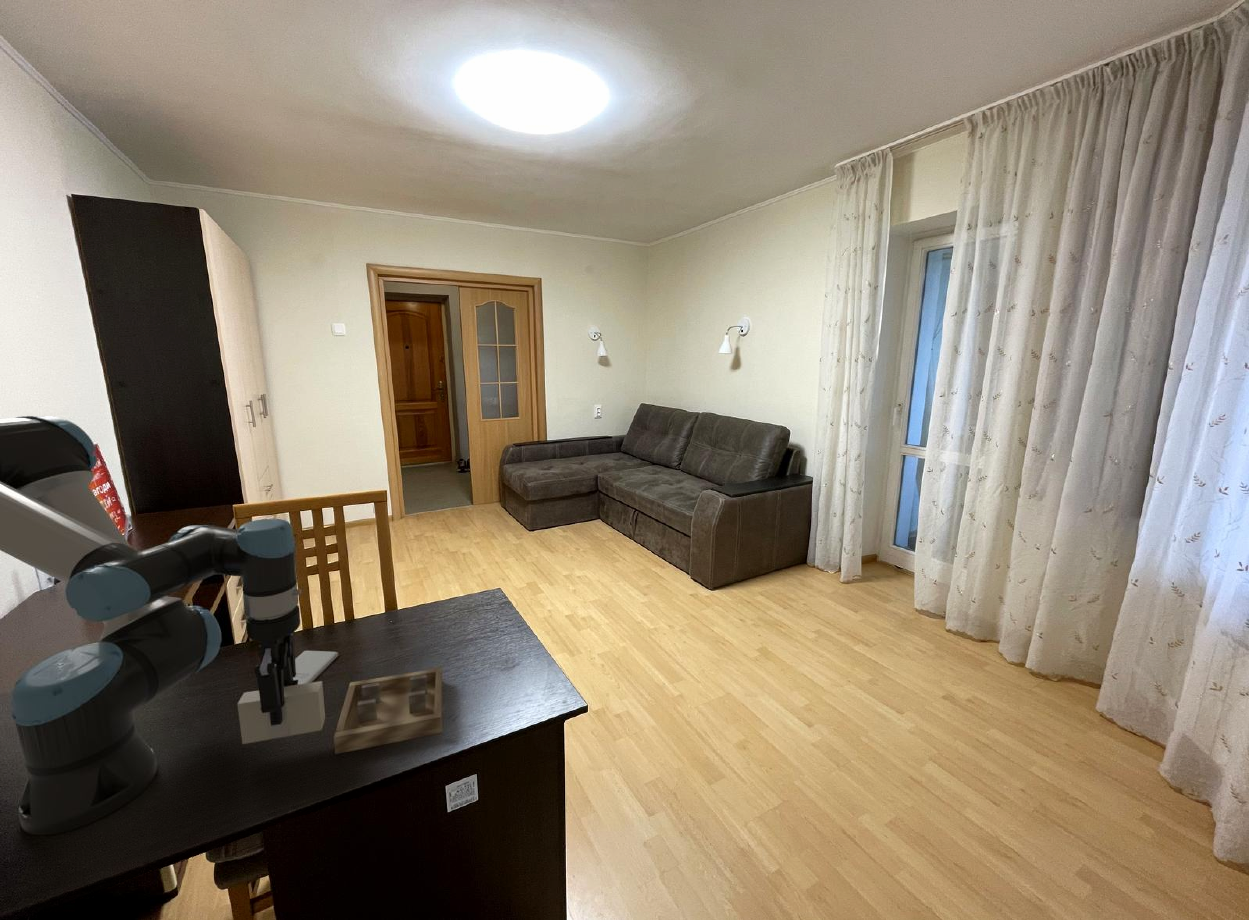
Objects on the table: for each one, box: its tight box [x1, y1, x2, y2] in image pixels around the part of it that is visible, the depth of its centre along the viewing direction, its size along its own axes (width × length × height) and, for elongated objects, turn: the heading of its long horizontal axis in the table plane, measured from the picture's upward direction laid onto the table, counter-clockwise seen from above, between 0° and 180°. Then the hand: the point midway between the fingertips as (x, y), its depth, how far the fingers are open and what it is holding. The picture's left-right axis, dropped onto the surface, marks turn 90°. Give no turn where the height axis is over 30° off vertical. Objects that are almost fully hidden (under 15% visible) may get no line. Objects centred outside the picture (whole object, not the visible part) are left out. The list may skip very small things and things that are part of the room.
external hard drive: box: [293, 650, 339, 685], centre depth 112 cm, size 2×8×12 cm
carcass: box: [333, 667, 443, 755], centre depth 99 cm, size 18×16×5 cm
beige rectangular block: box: [237, 680, 326, 745], centre depth 89 cm, size 12×3×8 cm, turn 109°
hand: (283, 728), depth 89 cm, fingers closed on beige rectangular block, 3 cm apart
